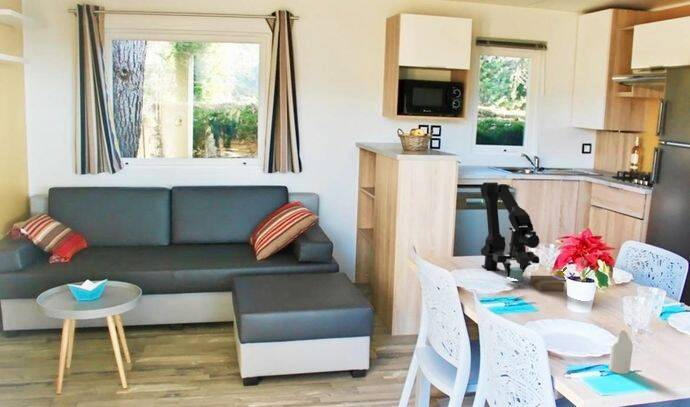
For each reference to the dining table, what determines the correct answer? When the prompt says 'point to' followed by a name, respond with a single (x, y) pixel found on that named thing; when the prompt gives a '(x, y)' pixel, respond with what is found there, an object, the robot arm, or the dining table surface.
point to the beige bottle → (621, 354)
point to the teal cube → (516, 273)
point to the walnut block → (547, 283)
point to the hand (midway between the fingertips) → (514, 277)
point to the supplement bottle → (560, 274)
